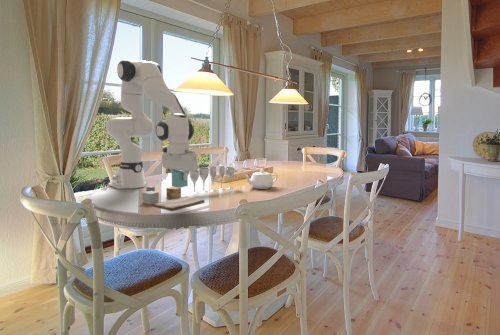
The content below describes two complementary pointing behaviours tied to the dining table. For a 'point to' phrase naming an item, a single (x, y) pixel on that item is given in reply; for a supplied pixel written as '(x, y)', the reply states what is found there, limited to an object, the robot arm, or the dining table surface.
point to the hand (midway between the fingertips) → (179, 179)
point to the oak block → (173, 192)
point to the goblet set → (204, 174)
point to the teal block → (178, 179)
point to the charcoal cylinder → (150, 189)
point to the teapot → (261, 179)
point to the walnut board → (178, 203)
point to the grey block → (150, 197)
